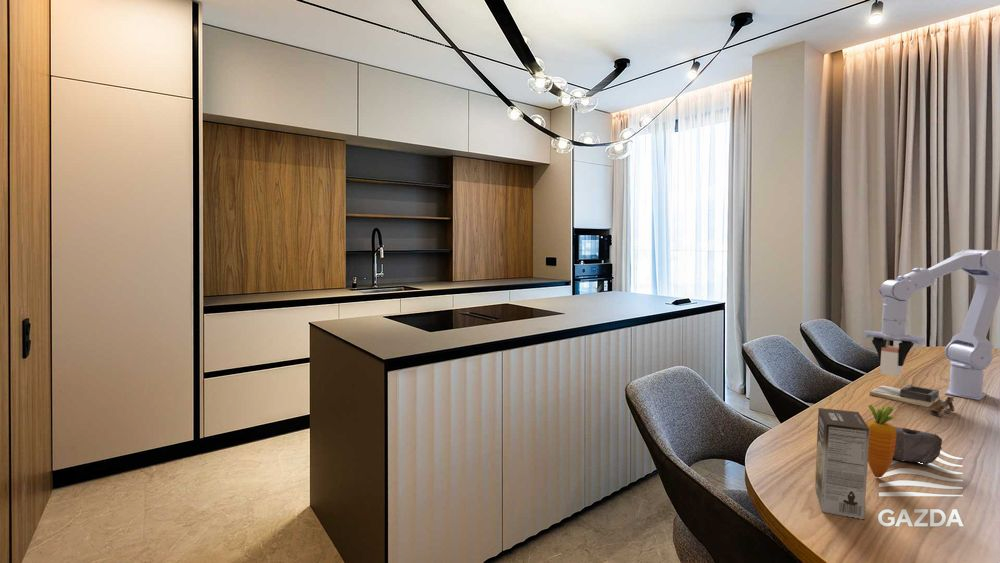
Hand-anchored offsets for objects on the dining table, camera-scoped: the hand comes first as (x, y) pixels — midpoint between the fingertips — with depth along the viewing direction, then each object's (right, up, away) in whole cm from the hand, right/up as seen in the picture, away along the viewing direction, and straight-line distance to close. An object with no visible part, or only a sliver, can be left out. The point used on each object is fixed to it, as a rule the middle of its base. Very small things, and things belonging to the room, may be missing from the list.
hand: (891, 364), depth 149 cm
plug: (0, -3, 0) cm, 3 cm away
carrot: (-44, -14, -52) cm, 70 cm away
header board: (+2, -10, -2) cm, 10 cm away
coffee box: (-58, -15, -61) cm, 86 cm away
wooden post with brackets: (+1, -11, -16) cm, 19 cm away
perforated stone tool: (-34, -13, -43) cm, 56 cm away
